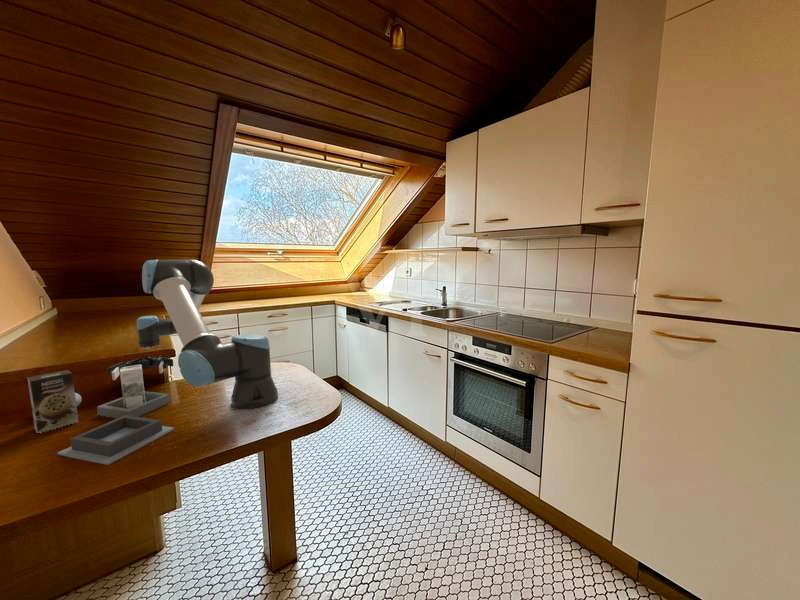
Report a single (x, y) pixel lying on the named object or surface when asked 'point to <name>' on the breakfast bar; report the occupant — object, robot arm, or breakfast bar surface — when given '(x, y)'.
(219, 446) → the breakfast bar surface
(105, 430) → the gray flanged tray
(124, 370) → the syrup box
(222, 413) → the breakfast bar surface
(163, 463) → the breakfast bar surface
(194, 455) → the breakfast bar surface
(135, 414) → the gray open tray
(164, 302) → the robot arm
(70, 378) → the dessert mix box
